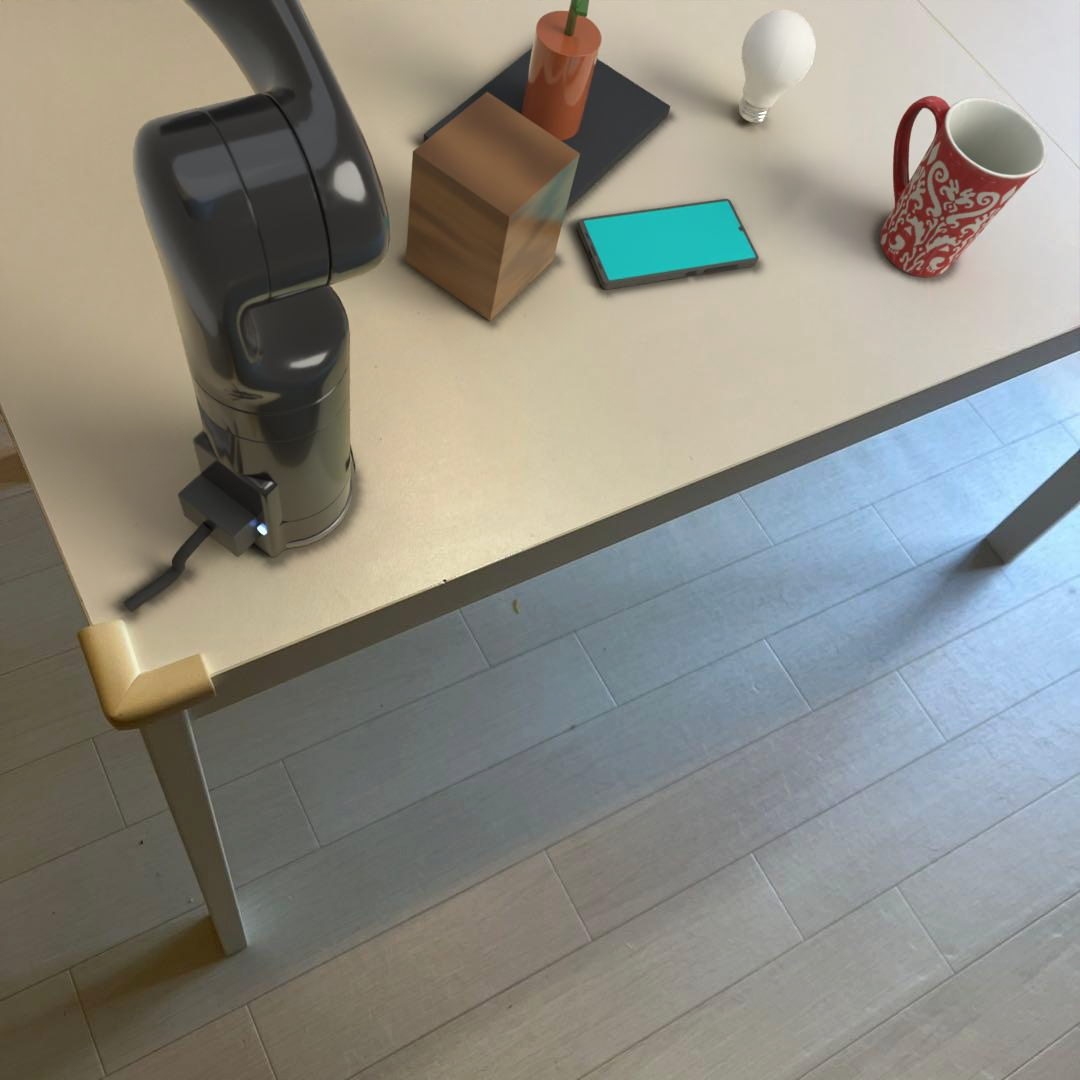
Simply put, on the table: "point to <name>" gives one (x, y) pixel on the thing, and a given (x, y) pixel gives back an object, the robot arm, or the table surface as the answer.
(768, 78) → the light bulb
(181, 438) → the table surface
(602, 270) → the smartphone
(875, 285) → the table surface
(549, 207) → the wooden block
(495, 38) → the table surface
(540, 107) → the flower pot
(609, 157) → the placemat
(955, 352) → the table surface
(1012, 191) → the mug
